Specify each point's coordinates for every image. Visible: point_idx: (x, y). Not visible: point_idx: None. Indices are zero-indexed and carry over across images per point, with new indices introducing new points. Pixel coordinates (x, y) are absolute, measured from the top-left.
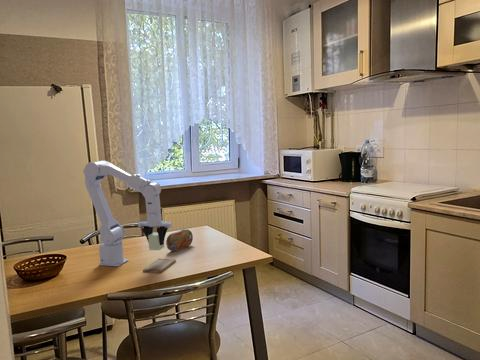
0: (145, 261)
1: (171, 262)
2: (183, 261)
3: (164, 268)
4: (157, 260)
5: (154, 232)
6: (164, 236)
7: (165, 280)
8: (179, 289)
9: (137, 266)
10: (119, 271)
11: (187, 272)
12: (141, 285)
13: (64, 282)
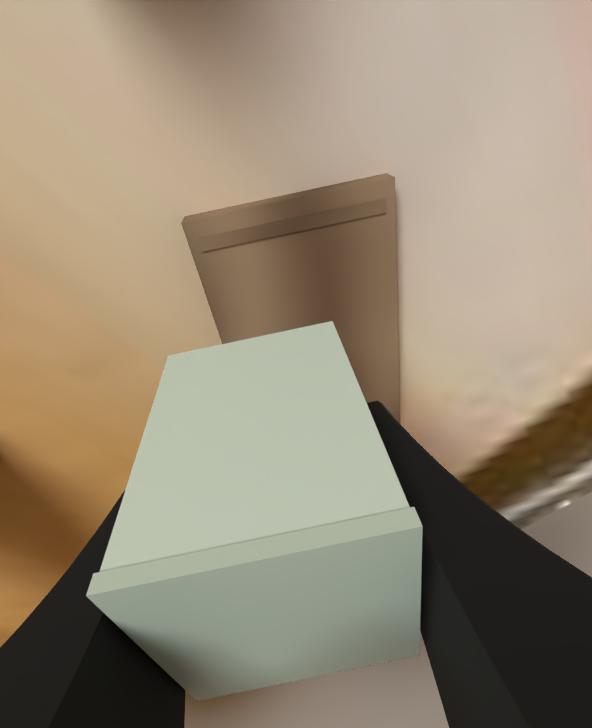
0: (76, 293)
1: (394, 272)
2: (468, 133)
3: (398, 383)
4: (219, 281)
5: (115, 589)
6: (457, 497)
7: (474, 466)
8: (579, 496)
9: (131, 400)
10: (106, 493)
11: (577, 342)
12: None
13: (7, 634)
